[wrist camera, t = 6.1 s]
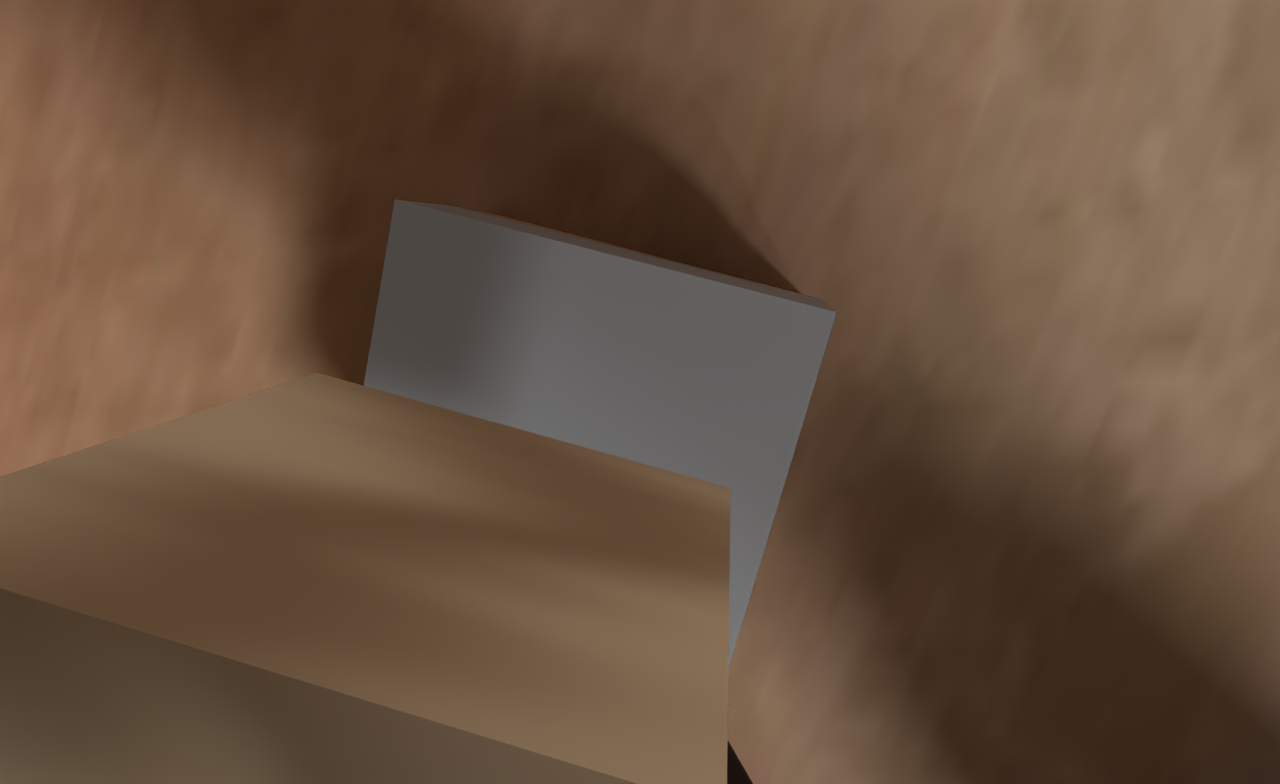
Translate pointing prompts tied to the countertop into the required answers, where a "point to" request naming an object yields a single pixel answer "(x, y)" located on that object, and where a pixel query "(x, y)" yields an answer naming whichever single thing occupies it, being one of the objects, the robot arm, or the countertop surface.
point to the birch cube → (360, 604)
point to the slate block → (603, 355)
